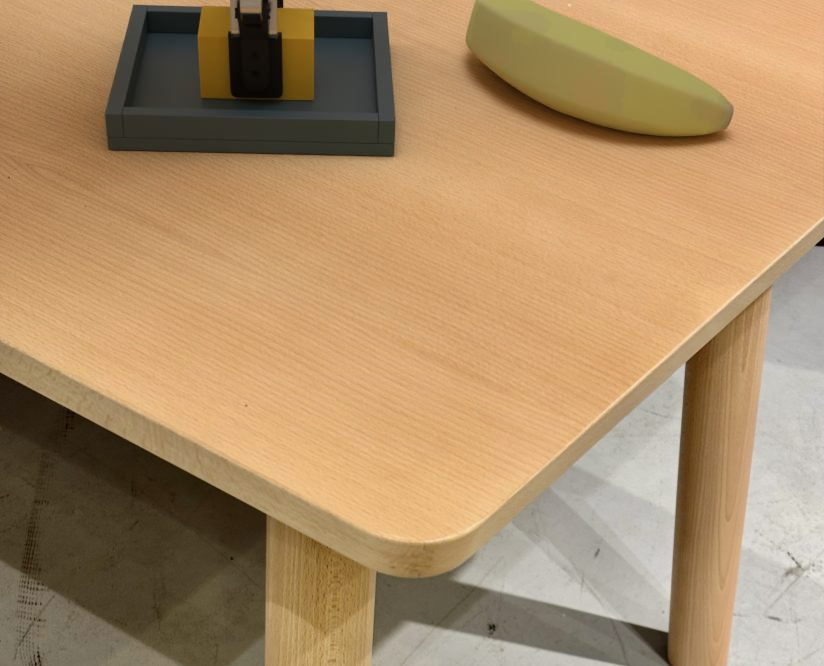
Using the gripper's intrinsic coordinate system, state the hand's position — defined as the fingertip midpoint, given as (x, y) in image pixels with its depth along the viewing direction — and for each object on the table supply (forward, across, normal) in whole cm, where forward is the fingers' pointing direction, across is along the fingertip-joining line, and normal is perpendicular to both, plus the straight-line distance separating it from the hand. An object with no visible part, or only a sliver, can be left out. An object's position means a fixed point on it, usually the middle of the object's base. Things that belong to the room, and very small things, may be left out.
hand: (258, 74), depth 87 cm
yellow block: (+1, 0, 0) cm, 1 cm away
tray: (+1, 0, 0) cm, 1 cm away
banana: (+2, -3, +21) cm, 21 cm away
